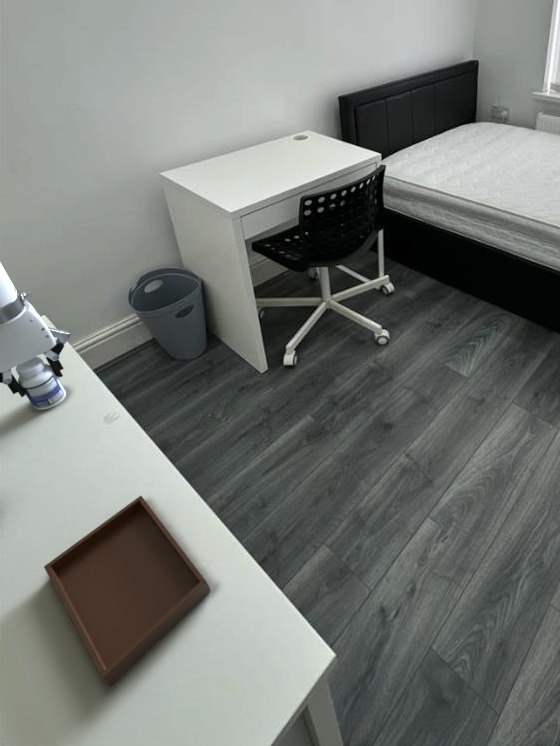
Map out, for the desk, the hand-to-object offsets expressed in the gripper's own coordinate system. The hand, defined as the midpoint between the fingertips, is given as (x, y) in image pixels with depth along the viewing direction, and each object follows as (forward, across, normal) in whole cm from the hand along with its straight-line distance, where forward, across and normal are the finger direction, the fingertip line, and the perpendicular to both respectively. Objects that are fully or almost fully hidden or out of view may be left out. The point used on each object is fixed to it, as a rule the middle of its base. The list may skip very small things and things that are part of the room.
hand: (39, 382), depth 91 cm
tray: (+5, +5, +45) cm, 46 cm away
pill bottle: (+5, 0, 0) cm, 5 cm away
